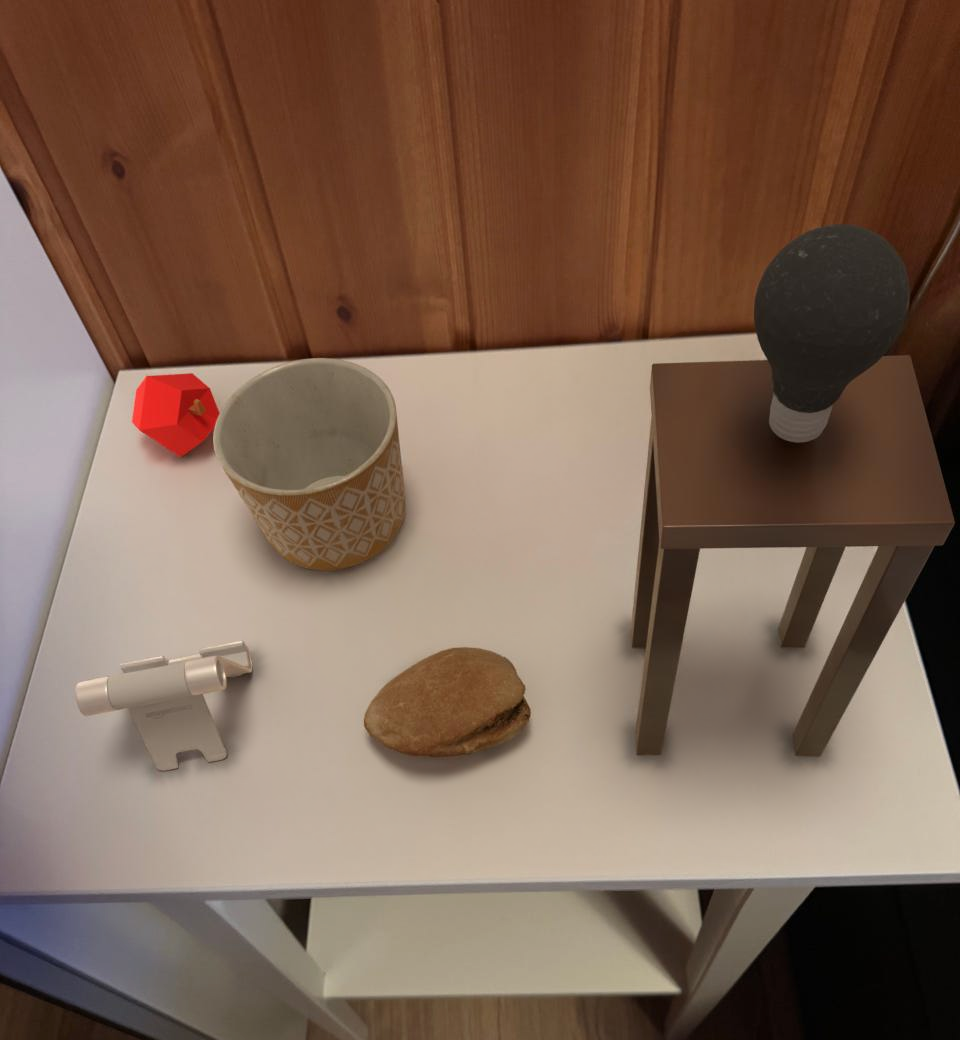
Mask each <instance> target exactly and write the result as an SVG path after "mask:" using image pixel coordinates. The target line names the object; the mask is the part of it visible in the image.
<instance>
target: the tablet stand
mask: <svg viewBox="0 0 960 1040" xmlns="http://www.w3.org/2000/svg"><path fill="white" fill-rule="evenodd" d="M119 666H120V670H121V672H122V673H120V674H114V675H105V676H100V677H96V678H91V679H87V680H84V681H79V682H78V683H77V684H76V686H75V701H76V704H77V708H78V710H79V712H80V713H81V715H83V716H84V717H90V716H95V715H99V714H105V713H110V712H116V711H120V710H121V711H122V710H126V709H128V711H129V713H130V716H131V717H132V719H133V721H134V723H135V726H136V728H137V730H138V732H139V734H140V736H141V738H142V740H143V743H144V744H145V747H146V749H147V751H148V753H149V755H150V757H151V759H152V761H153V764H154V766H155V768H156V769H157V770H159V771H164V772H165V771H169V770H175V769H178V768H179V762H178V758H177V754H179V753H184V752H188V751H193V750H199V752H200V753H201V754H202V755H203V756H204V758H205V759H206V761H207V763H211V762H216V761H217V762H218V761H222V760H225V759H226V757H227V755H228V752H227V750H226V747H225V745H224V743H223V740H222V738H221V735H220V733H219V730H218V728H217V726H216V722H215V721H214V718H213V716H212V713H211V711H210V708H209V706H208V703H207V701H206V699H205V696H204V694H209V693H214V692H219V691H220V692H221V691H225V690H226V689H227V686H228V685H227V684H228V680H227V678H228V677H230V678H234V677H238V676H239V677H240V676H242V675H243V674H249V673H252V671H253V659H252V655H251V651H250V649H249V647H248V645H247V644H246V643H245V642H244V641H243V640H240V641H233V642H229V643H224V644H219V645H212V646H208V647H203V648H202V647H201V648H199V652H198V653H197V654H192V655H187V656H183V657H182V656H181V657H177V658H172V659H168V658H166V656H164V655H161V656H155V657H150V658H144V659H140V660H139V659H138V660H134V661H129V662H124V663H120V665H119Z"/></svg>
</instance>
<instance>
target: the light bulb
mask: <svg viewBox="0 0 960 1040" xmlns="http://www.w3.org/2000/svg"><path fill="white" fill-rule="evenodd" d="M904 263H905V262H903V260H902V258H901V256H900V255H899V253H898V251H897V250H896V249H895V248H894V247H893V246H892V244H890V242H888V241H887V239H886V238H885V237H883V235H881V234H879V233H877V232H875V231H873V230H870V229H868V228H865V227H862V226H859V225H855V224H854V225H853V224H845V223H837V224H830V225H822V226H820V227H817V228H814V229H811V230H807V231H806V232H804V233H802V234H800V235H799V236H797V237H796V238H794V239H792V240H791V241H790V242H788V243H787V244H786V245H785V246H784V247H783V248H781V249H780V251H779V252H777V254H775V256H774V258H773V259H772V260H771V261H770V262H769V264H768V265H767V266H766V268H765V270H764V271H763V274H762V276H761V278H760V281H759V283H758V285H757V289H756V294H755V297H754V303H753V304H754V305H753V324H754V329H755V333H756V338H757V341H758V344H759V346H760V349H761V351H762V353H763V354H764V355H763V356H764V357H765V358H766V360H768V362H769V364H770V366H771V369H772V386H773V390H774V394H773V399H772V404H771V407H770V418H769V424H770V427H771V429H772V430H773V432H774V433H775V434H776V435H777V436H779V437H780V438H782V439H784V440H787V441H790V442H807V441H810V440H813V439H815V438H817V437H818V436H819V435H820V434H821V433H822V431H823V429H824V428H825V427H826V425H827V423H828V418H829V416H830V413H831V410H832V406H833V404H834V403H835V402H836V401H837V400H838V399H839V397H840V396H841V394H842V392H843V391H844V389H845V387H846V386H847V385H848V384H849V383H850V382H851V381H852V380H853V379H855V378H856V377H858V376H859V375H861V374H862V373H863V372H865V371H866V370H868V369H869V368H870V367H872V366H873V365H874V364H876V363H877V362H878V361H879V360H880V359H881V357H882V356H885V354H886V353H887V352H888V351H889V350H890V349H891V347H893V344H894V343H895V341H896V340H897V338H898V337H899V335H900V333H901V331H902V330H903V328H904V324H905V322H906V318H907V315H908V311H909V308H910V300H911V299H910V297H911V290H910V289H911V288H910V279H909V278H910V277H909V276H908V273H907V268H906V265H905V264H904Z"/></svg>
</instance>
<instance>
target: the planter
mask: <svg viewBox="0 0 960 1040" xmlns="http://www.w3.org/2000/svg"><path fill="white" fill-rule="evenodd" d="M395 401H396V400H395V399H394V396H393V393H392V392H391V390H390V388H389V387H388V385H387V384H386V383H385V382H384V381H383V379H382V378H381V377H379V375H377V374H376V373H374V372H373V371H372V370H370V369H368V368H366V367H365V366H362V365H359V364H358V363H355V362H351V361H348V360H344V359H338V358H330V357H329V358H328V357H314V358H303V359H297V360H293V361H288V362H285V363H282V364H278V365H276V366H274V367H271V368H269V369H266V370H265V371H263V372H261V373H259V374H257V375H255V376H254V377H252V378H251V379H249V380H248V381H246V382H245V383H244V384H242V385H241V386H240V387H239V388H238V389H237V390H236V391H235V392H234V393H233V394H232V395H231V396H230V397H229V398H228V400H227V401H226V402H225V403H224V405H223V407H222V408H221V410H220V411H219V413H220V414H219V416H218V418H217V421H216V424H215V428H214V429H213V437H212V443H213V449H214V453H215V456H216V459H217V461H218V463H219V464H220V466H221V468H222V470H223V471H224V472H225V474H226V476H227V477H228V479H229V481H230V482H231V484H232V485H233V487H234V488H235V490H236V492H237V494H238V495H239V496H240V498H241V500H242V501H243V503H244V504H245V506H246V507H247V509H248V511H249V513H250V514H251V516H252V517H253V518H254V520H255V522H256V523H257V525H258V526H259V528H260V530H261V531H262V533H263V534H264V536H265V538H266V539H267V541H268V543H269V544H270V545H271V547H272V548H273V549H274V551H276V552H277V554H279V555H280V556H281V557H282V558H283V559H285V560H286V561H289V563H292V564H294V565H297V566H299V567H302V568H305V569H308V570H309V569H310V570H316V571H334V570H342V569H346V568H351V567H354V566H356V565H359V564H362V563H363V562H366V561H368V560H370V559H372V558H373V557H375V556H377V555H378V554H379V553H380V552H381V551H383V550H384V549H385V548H386V547H387V546H388V545H389V544H390V543H391V541H392V540H393V539H394V538H395V537H396V535H397V533H398V531H399V529H400V528H401V526H402V523H403V520H404V518H405V511H406V493H405V483H404V472H403V462H402V454H401V453H402V452H401V443H400V434H399V422H398V413H397V405H396V402H395Z"/></svg>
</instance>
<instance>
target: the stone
mask: <svg viewBox="0 0 960 1040" xmlns="http://www.w3.org/2000/svg"><path fill="white" fill-rule="evenodd" d="M526 689H527V688H526V685H525V684H524V682H523V681H522V679H521V678H520V676H519V675H518V673H517V669H516V668H515V666H514V663H513V662H512V661H510V659H508V658H507V657H505V656H503V655H502V654H500V653H497V652H494V651H492V650H488V649H484V648H480V647H470V646H469V647H468V646H462V647H451V648H447V649H443V650H440V651H438V652H436V653H434V654H430V655H429V656H426V657H424V658H423V659H421V660H419V661H417V662H416V663H414V664H412V665H411V666H410V667H408V668H407V669H404V670H403V671H402V672H401V673H399V674H397V675H396V676H394V677H393V678H392V679H390V680H389V681H388V682H387V683H386V684H385V685H384V686H383V687H381V688H380V690H379V691H378V692H377V694H376V695H375V696H374V697H373V699H372V700H371V701H370V703H369V705H368V706H367V709H366V711H365V712H364V717H363V727H364V729H365V730H366V731H367V733H368V734H369V735H370V736H371V737H373V738H374V739H375V740H376V741H377V742H379V744H381V745H383V746H384V747H385V748H388V749H389V750H392V751H394V752H396V753H399V754H403V755H406V756H411V757H419V758H420V757H422V758H423V757H424V758H431V759H439V758H451V757H461V756H467V755H471V754H474V753H476V752H480V751H484V750H489V749H491V748H493V747H496V746H499V745H501V744H503V743H505V742H506V741H509V740H510V739H512V738H514V737H515V736H517V735H518V734H520V732H522V731H523V730H524V729H525V728H526V726H527V724H528V723H529V721H530V718H531V714H532V712H531V711H532V710H531V706H530V705H529V703H528V701H527V700H526V699H527V698H526V697H525V694H526Z"/></svg>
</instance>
